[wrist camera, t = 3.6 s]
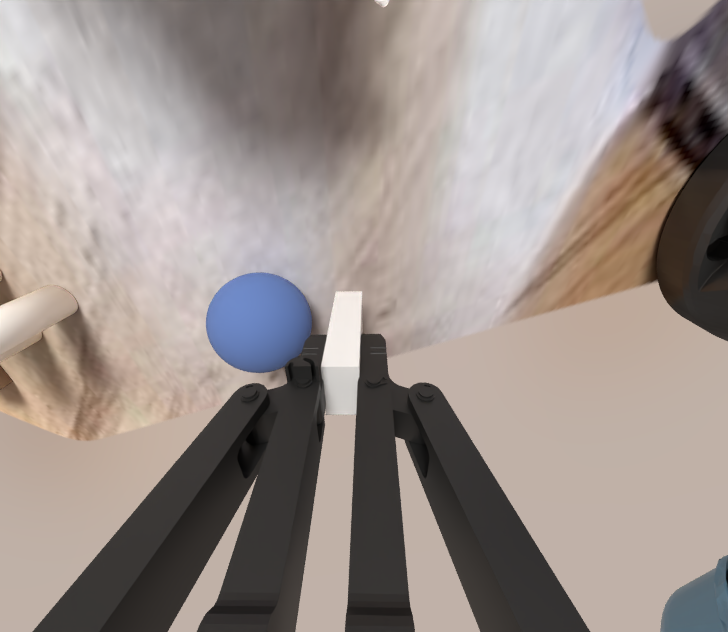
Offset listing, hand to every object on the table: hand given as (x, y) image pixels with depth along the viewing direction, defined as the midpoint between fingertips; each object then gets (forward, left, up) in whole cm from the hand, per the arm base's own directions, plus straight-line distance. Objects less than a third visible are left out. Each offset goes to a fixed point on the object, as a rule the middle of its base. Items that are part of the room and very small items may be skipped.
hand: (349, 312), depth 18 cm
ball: (+4, +4, 0) cm, 5 cm away
